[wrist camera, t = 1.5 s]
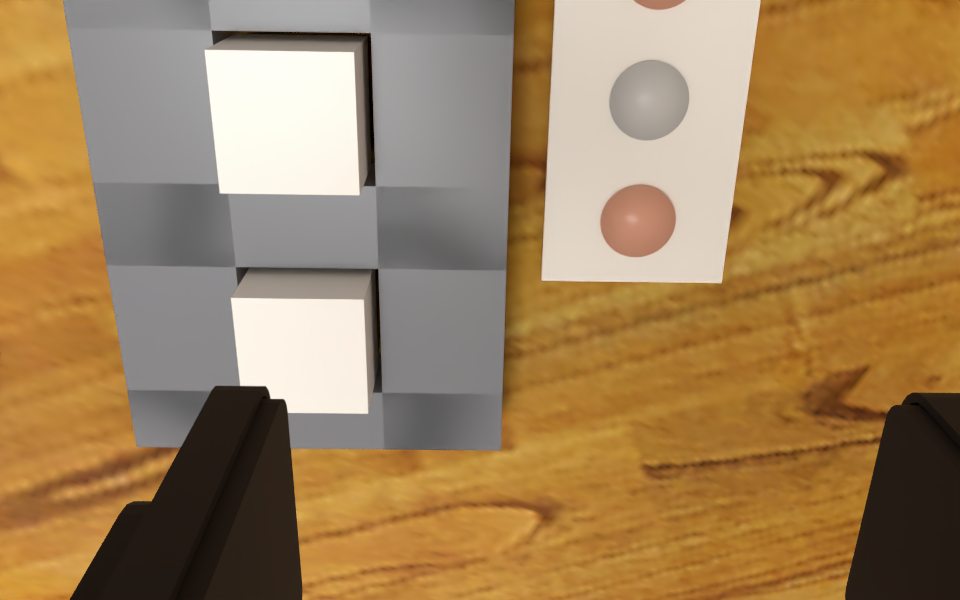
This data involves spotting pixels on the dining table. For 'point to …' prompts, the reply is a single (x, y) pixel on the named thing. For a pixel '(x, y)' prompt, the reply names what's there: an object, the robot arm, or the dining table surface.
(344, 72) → the button
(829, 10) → the dining table surface
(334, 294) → the button
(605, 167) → the pattern card
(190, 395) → the button board
